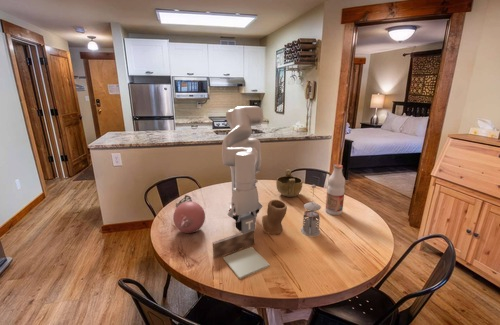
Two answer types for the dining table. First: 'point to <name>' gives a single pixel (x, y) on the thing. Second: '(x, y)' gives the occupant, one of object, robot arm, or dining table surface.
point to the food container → (184, 200)
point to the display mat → (246, 262)
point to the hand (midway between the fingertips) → (245, 226)
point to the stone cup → (274, 217)
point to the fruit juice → (335, 191)
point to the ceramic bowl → (289, 185)
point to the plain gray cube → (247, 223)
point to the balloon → (189, 217)
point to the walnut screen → (233, 243)
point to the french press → (311, 219)
